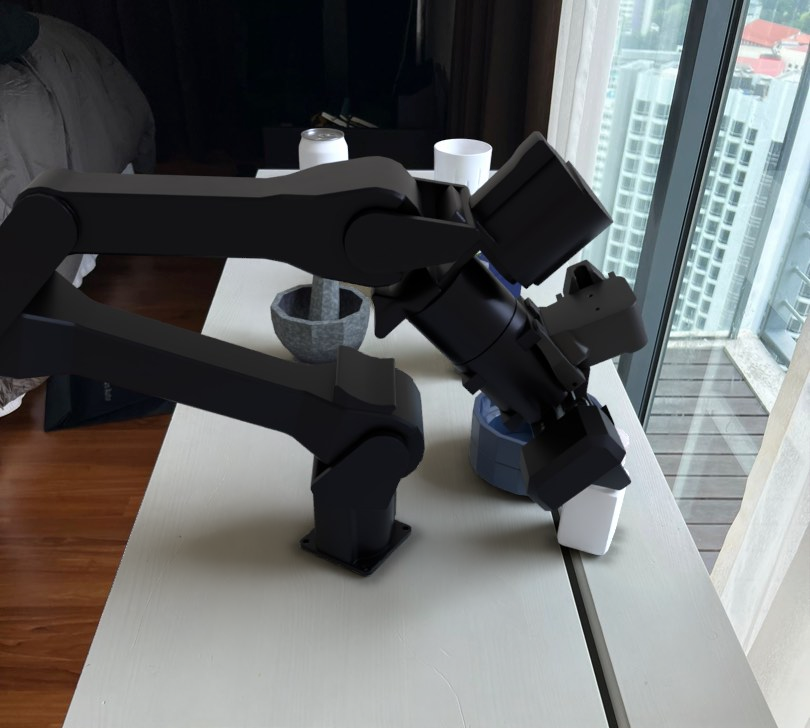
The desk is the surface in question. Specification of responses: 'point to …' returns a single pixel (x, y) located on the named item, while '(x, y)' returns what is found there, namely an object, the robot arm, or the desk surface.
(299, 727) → the desk surface
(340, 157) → the can
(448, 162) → the white cup
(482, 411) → the bowl
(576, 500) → the pepper shaker
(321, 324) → the mortar and pestle
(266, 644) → the desk surface
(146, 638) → the desk surface
